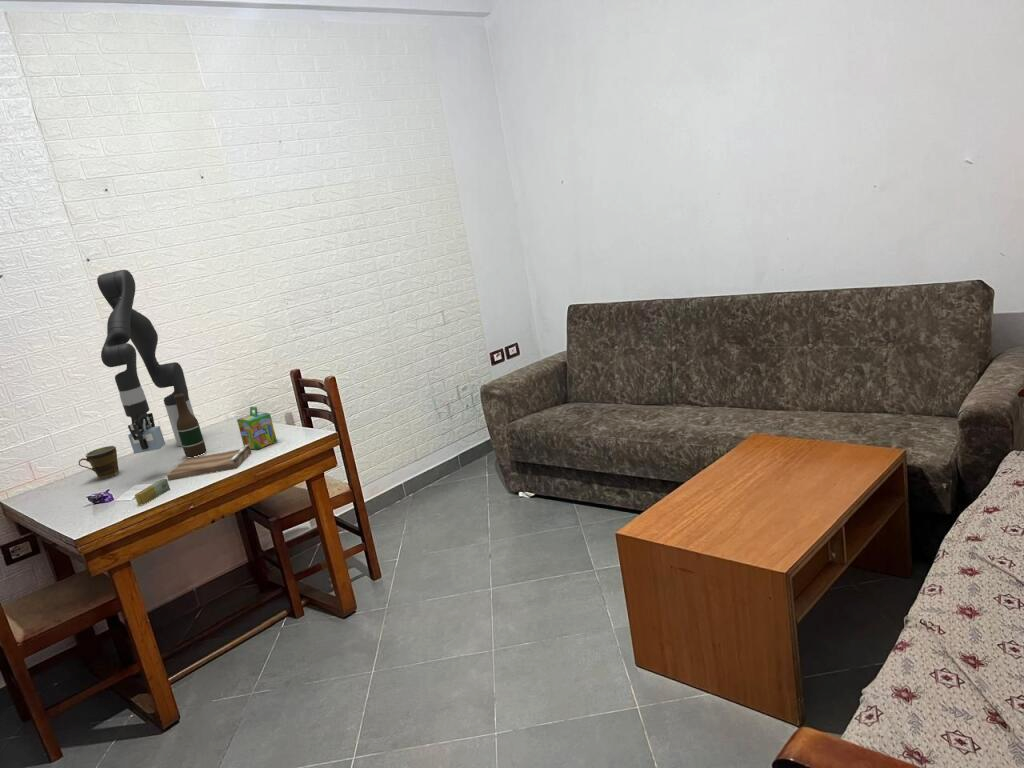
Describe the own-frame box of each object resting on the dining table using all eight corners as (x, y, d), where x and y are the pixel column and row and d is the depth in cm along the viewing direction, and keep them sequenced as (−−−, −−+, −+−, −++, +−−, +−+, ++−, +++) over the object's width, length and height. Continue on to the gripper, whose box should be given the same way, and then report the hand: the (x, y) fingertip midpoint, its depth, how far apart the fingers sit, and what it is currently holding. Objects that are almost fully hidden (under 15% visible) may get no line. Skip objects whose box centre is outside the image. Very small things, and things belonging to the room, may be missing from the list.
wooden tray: (187, 464, 267) (184, 456, 266) (251, 452, 266) (249, 444, 266) (168, 480, 251) (165, 471, 251) (236, 468, 251) (234, 459, 250)
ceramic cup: (119, 469, 277) (110, 444, 275) (127, 472, 270) (119, 447, 268) (81, 482, 269) (73, 456, 266) (89, 486, 262) (80, 460, 259)
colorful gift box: (243, 448, 274) (233, 411, 270) (265, 439, 280) (255, 403, 277) (256, 450, 268) (246, 412, 264) (278, 441, 274) (268, 404, 271)
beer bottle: (211, 449, 281) (193, 390, 275) (200, 456, 273) (182, 395, 267) (192, 452, 282) (174, 392, 276) (181, 459, 274) (163, 398, 268)
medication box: (164, 490, 242) (160, 478, 242) (170, 489, 242) (167, 478, 241) (137, 506, 231) (133, 494, 230) (144, 505, 231) (140, 493, 230)
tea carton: (140, 448, 261) (134, 430, 259) (165, 444, 261) (159, 425, 259) (134, 453, 256) (127, 435, 254) (159, 449, 256) (153, 430, 254)
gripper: (133, 396, 260) (147, 441, 265) (113, 408, 247) (129, 455, 251) (153, 393, 260) (168, 437, 265) (135, 404, 246) (150, 451, 251)
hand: (149, 446), depth 258 cm, fingers closed on tea carton, 5 cm apart
